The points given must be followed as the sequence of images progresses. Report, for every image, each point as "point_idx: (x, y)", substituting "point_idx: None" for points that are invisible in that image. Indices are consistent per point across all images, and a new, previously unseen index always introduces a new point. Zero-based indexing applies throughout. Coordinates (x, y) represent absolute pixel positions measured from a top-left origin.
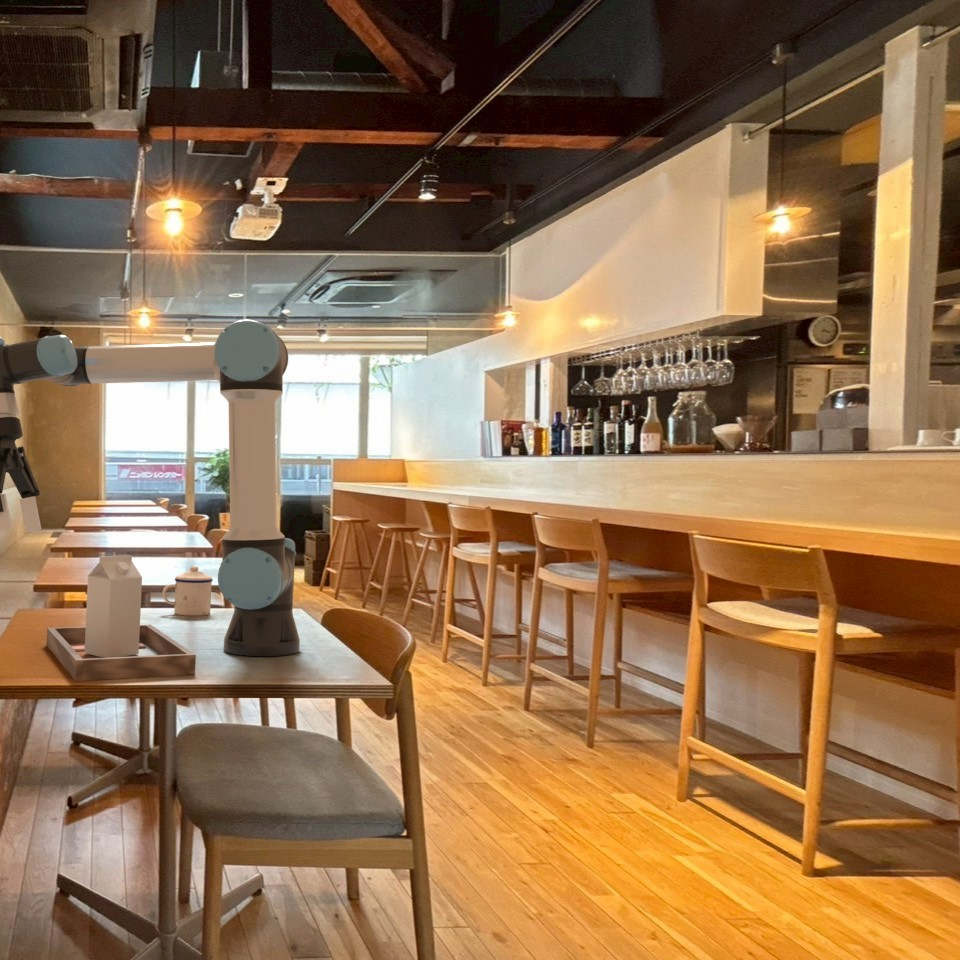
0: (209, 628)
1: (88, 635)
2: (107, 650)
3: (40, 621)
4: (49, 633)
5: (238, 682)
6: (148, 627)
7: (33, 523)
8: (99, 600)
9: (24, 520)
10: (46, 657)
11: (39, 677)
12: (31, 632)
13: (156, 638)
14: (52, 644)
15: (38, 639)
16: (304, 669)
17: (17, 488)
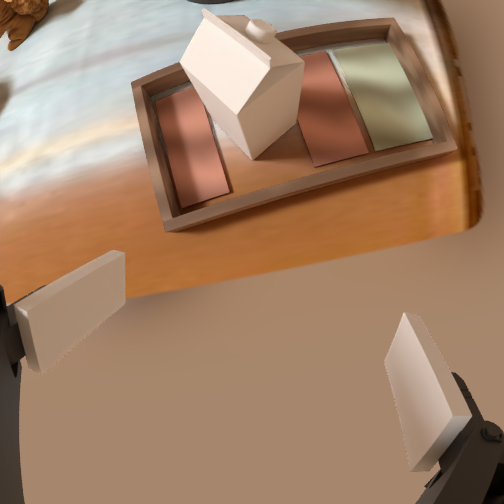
0: (57, 57)
1: (257, 146)
2: (296, 119)
3: (6, 276)
4: (196, 222)
5: (415, 5)
6: (157, 78)
7: (109, 282)
8: (277, 104)
9: (100, 321)
10: (282, 213)
11: (427, 200)
12: None
13: None
14: (238, 210)
15: None
16: None
17: (18, 410)
